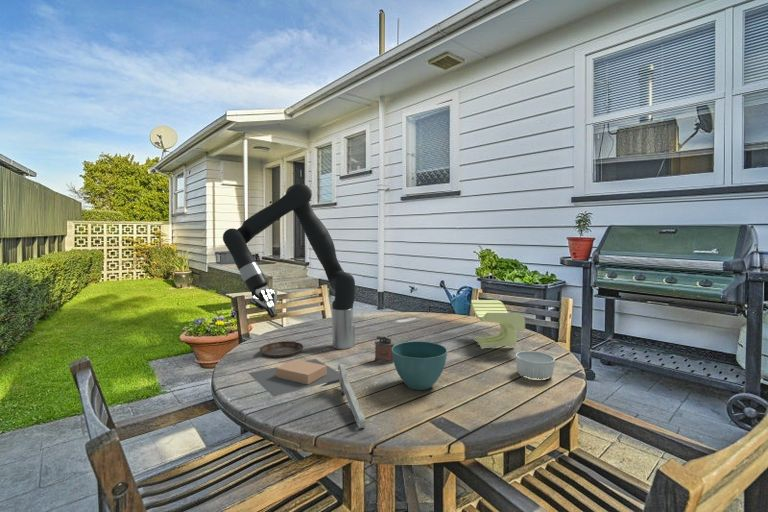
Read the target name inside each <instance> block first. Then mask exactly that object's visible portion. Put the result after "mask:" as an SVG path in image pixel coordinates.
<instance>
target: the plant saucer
mask: <svg viewBox="0 0 768 512" xmlns="http://www.w3.org/2000/svg"><path fill="white" fill-rule="evenodd" d="M303 348H304V344H302V343H301V342H297V341H290V340H289V341H288V340H287V341H276V342H275V341H274V342H271V343H267V344H264V345H262V346H261V347H260V348H259V352H260V354H262V355H263V356H264V357H267V358H274V359H277V358H289V357H292V356H296V355H299V354H300V353H301V352H302V350H303ZM279 350H282V351H288V352H289V353H281V354H271V353H274V352H276V351H279Z"/></svg>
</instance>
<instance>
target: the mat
mask: <svg viewBox="0 0 768 512" xmlns="http://www.w3.org/2000/svg"><path fill="white" fill-rule="evenodd" d="M305 361H306V362H311V363H316V364H321V365H326V366H327V374H326V375H325V376H323V377H321V378H319V379H318V380H316V381H314V382H312V383H310V384H303V383H299V382H295V381H291V380H287V379H283V378H278V377H277V376H276V368H277V367H278V366H275V367H271V368H266V369H261V370H258V371H252V372H248V374H249V375H250V376H251V377H252V378H253V379H255V381H256V382H257V383H259V385H261V386H262V387H263V388H264V389H265V390H266V391H267V392H268V393H269V394H270V395H271V396H273V397H276V396H281V395H285V394H288V393H292V392H296V391H300V390H304V389H307V388H308V389H309V388H312V387H315V386H318V385H321V386H320V388H322V387H326V386H329V385H333V384H338V383H340V382H339V380H340V371H337V370H336V369H334V368H332V367H330V366H328V365H327V364H325V363H323V362H322V361H320V360H318V359H317V358H314V359H308V360H305ZM322 384H323V385H322Z"/></svg>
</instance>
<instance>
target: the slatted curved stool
mask: <svg viewBox="0 0 768 512" xmlns="http://www.w3.org/2000/svg"><path fill="white" fill-rule="evenodd" d="M471 307H472V310H473V313H474V315H475V317H477V319H479V321H480V322H487V323H497V324H499V326H500V330H499V332H498V334H495V335H491V336H475V337H474V341H475V340H476V341H477V342H478V344H479V345H480V346H481V347H487V346H512V345H515V346H516V345H517V342H518V333H519V332H525V331H526V319H525V317H524V315H523V314H521V313H519V312H509V311H508V310H507V307H506V306H505V304H504V303H503V302H502V301H500V300H497V299H471ZM478 344H477V345H478Z"/></svg>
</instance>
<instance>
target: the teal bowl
mask: <svg viewBox="0 0 768 512" xmlns="http://www.w3.org/2000/svg"><path fill="white" fill-rule="evenodd" d="M447 354H448V349H447V348H446V347H445V346H444V345H442V344H439V343H435V342H431V341H406V342H401V343H397V344H394V347H393V348H392V357H393V361H394V363H393V364H394V367H395V368H394V369H395V370H396V372H397V375H398V376H399V378H400V379H401V380H402V382H403V383H404V384H405V385H406V386H407V387H408V388H409V389H411V390H412V389H413V390H415V391H417V390H418V391H423V390H428V389H430V388H432V387H433V386H434V384H435V383H437V381H438V380H439V378H440V376H441V375H442V374H443V371H444V367H445V365H446V362H447V357H448V355H447Z"/></svg>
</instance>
